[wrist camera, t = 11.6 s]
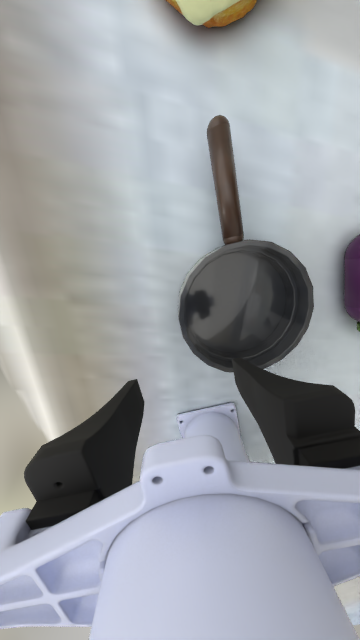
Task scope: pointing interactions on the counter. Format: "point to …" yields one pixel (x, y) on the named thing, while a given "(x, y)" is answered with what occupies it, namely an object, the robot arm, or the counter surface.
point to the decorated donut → (212, 11)
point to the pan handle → (225, 179)
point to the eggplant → (352, 280)
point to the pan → (245, 304)
